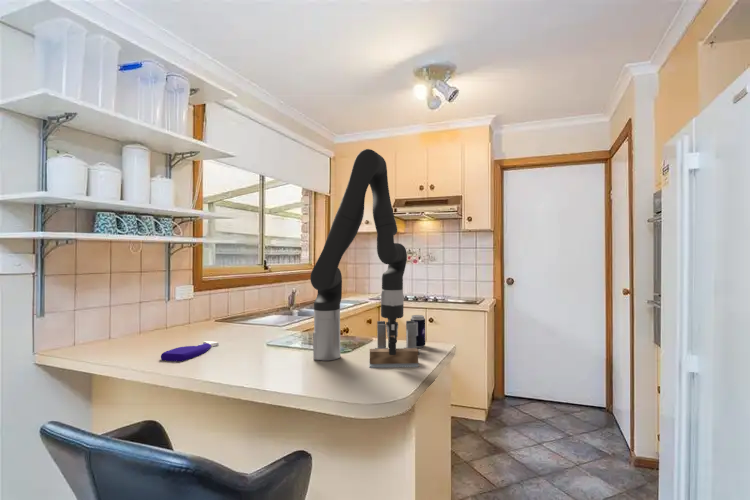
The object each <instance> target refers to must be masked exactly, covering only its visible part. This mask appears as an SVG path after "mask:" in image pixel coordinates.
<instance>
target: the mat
mask: <svg viewBox="0 0 750 500" xmlns="http://www.w3.org/2000/svg"><path fill="white" fill-rule="evenodd" d="M419 366H420V365H419V362H418V363H407V364H370V363H369V368H370V369H372V368H373V369H375V368H377V369H379V368H382V369H384V368H419Z"/></svg>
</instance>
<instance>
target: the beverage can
mask: <svg viewBox="0 0 750 500" xmlns="http://www.w3.org/2000/svg"><path fill="white" fill-rule="evenodd" d="M410 321H414V324H416V347H417V349H420V348H421V349H422V348H424V347H425V345H426V318H425V315H423V314H413V315H411V318H410Z"/></svg>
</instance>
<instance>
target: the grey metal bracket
mask: <svg viewBox="0 0 750 500" xmlns="http://www.w3.org/2000/svg"><path fill="white" fill-rule="evenodd" d="M376 324H377V325H376V327H377V328H376V329H377V330H376V331H377V332H376V334H377V335H376V336H377V341H376V342H377V345H376V346H377V347H375V348H374V349H389V348H388V347H387V329H386V321H385V320H377V321H376Z"/></svg>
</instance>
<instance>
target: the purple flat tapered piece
mask: <svg viewBox="0 0 750 500" xmlns="http://www.w3.org/2000/svg"><path fill="white" fill-rule="evenodd" d="M217 346H220V343H219V341H212V340H211V341H202V343H199V344H197V345H188V346H187V345H185V346H180V347H178V346H177V347H175V348H172V349H170V350H166V351H164V352H162V353H161V355H160V359H161V361H164V360H166V361H167V362H178V361H180V362H184V361H185V362H186V361H188V360H191V359H194V358H196V357H199V356H201V355H203V354H205V353H206V352H207V351H209V350H210V348H212V347H217Z"/></svg>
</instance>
